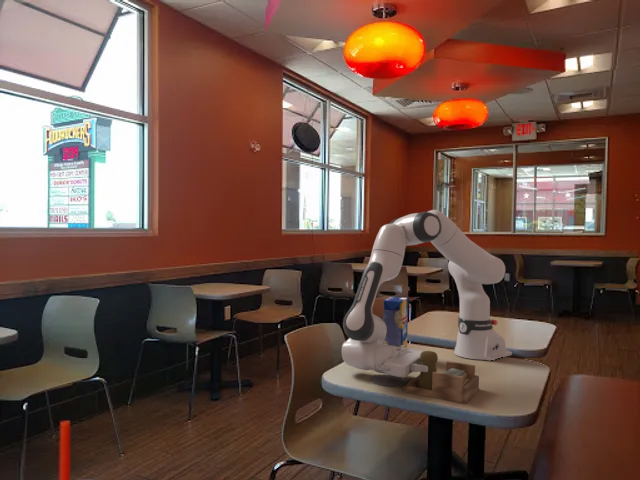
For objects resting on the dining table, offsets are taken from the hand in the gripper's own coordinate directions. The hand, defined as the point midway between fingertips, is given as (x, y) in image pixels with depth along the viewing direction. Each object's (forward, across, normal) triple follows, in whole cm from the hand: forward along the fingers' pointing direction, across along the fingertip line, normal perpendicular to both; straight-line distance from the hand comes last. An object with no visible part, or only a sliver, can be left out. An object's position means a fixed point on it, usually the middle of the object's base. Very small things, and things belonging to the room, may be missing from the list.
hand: (431, 366), depth 147 cm
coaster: (-14, -1, +6) cm, 15 cm away
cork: (-1, 0, +7) cm, 7 cm away
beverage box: (-23, +26, +7) cm, 35 cm away
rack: (+3, 0, +6) cm, 7 cm away
